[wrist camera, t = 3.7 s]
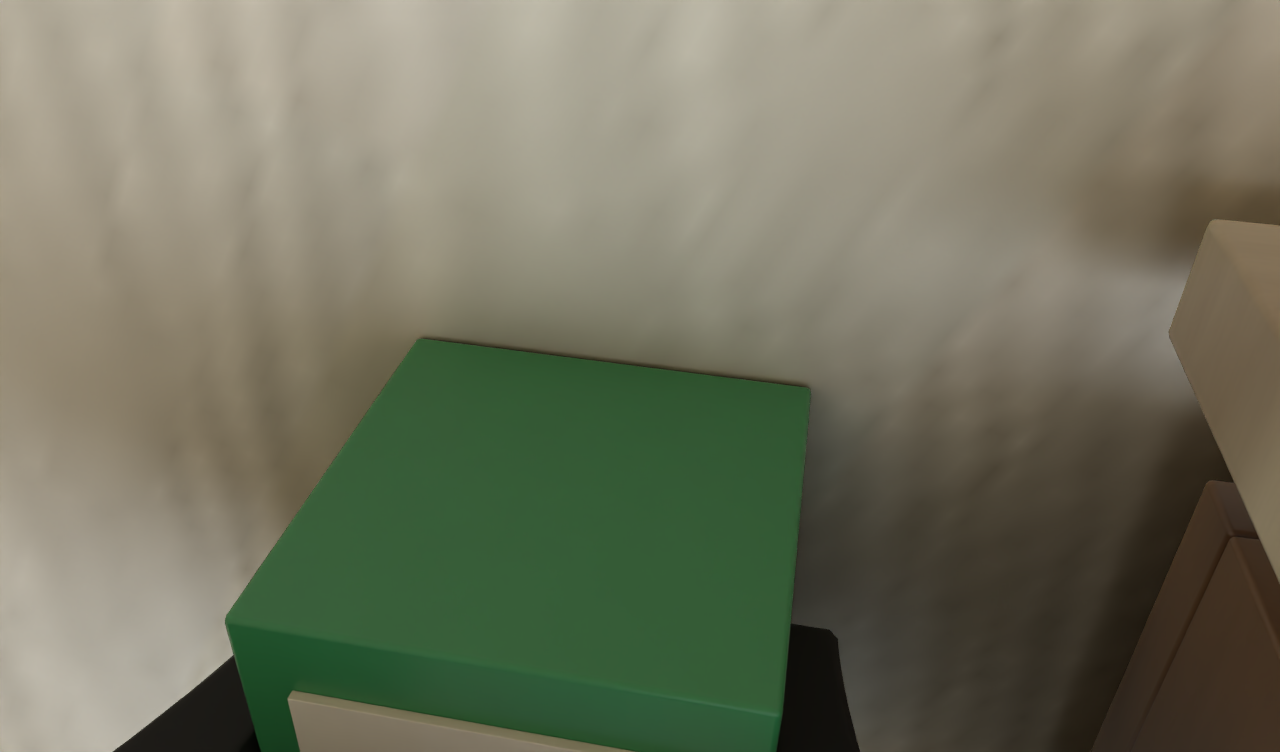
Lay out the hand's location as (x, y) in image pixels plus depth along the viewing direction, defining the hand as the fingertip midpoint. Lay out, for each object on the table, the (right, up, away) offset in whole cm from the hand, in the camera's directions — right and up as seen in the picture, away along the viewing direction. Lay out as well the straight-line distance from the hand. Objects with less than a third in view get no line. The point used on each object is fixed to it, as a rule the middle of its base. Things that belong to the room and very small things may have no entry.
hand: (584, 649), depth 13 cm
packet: (0, +1, +1) cm, 1 cm away
